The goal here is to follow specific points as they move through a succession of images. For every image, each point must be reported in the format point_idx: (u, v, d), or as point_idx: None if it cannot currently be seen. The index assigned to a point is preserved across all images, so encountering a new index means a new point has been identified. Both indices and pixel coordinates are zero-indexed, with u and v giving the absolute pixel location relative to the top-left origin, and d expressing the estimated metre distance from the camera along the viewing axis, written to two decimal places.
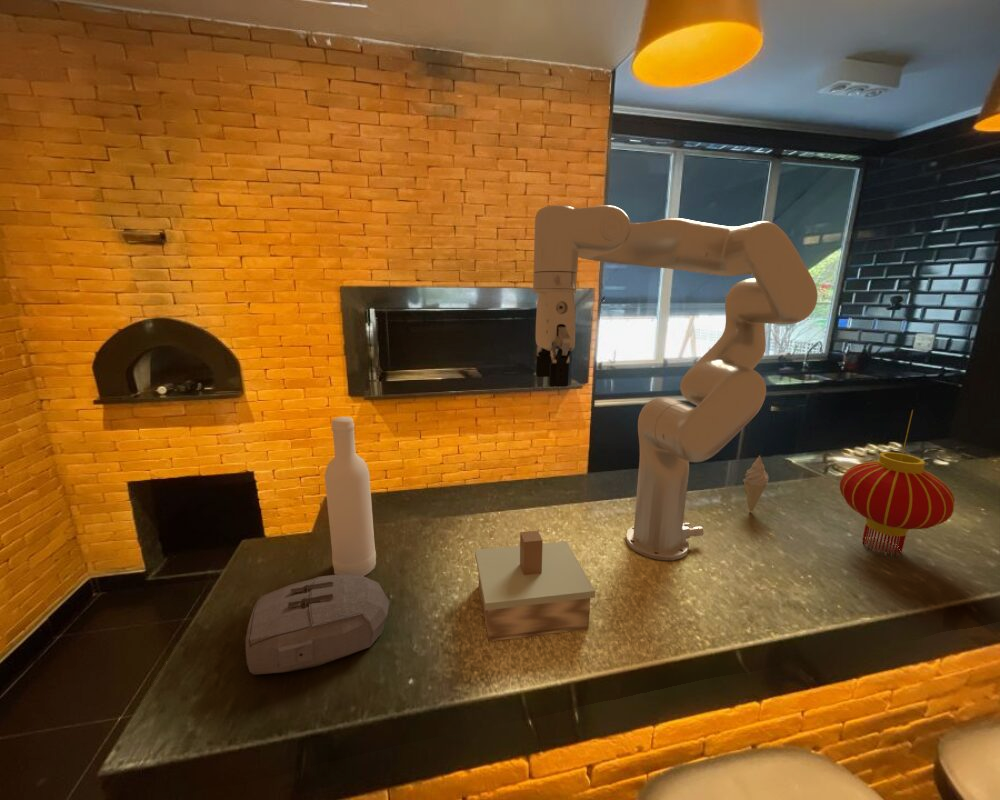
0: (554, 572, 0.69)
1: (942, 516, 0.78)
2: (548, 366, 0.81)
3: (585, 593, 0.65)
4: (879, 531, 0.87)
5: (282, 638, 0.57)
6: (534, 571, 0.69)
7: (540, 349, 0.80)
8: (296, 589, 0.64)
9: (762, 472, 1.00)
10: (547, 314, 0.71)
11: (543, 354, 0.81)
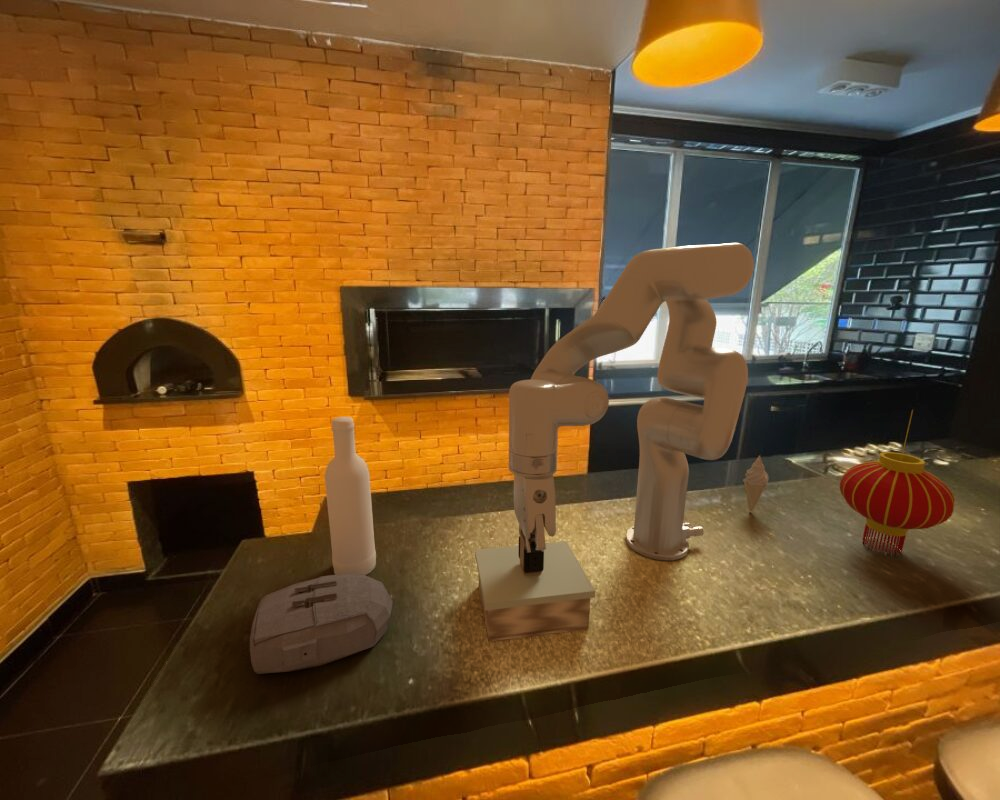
0: (554, 572, 0.69)
1: (942, 516, 0.78)
2: None
3: (585, 593, 0.65)
4: (879, 531, 0.87)
5: (287, 638, 0.58)
6: None
7: None
8: (300, 588, 0.64)
9: (762, 472, 1.00)
10: (524, 502, 0.63)
11: None
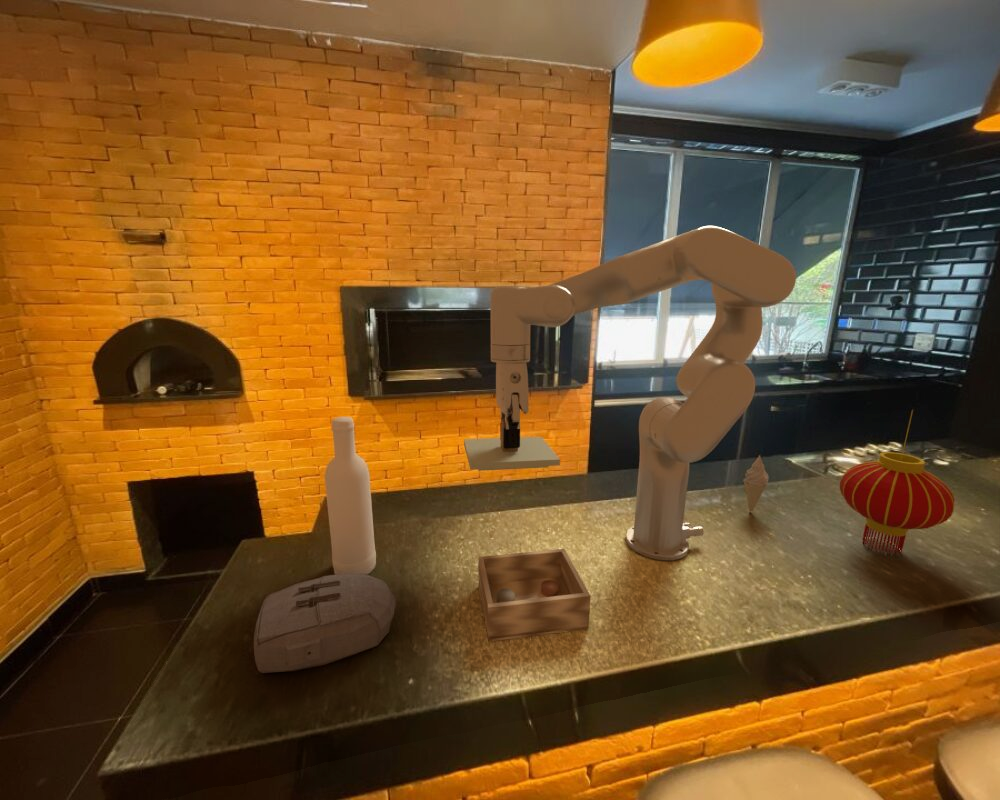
0: (528, 450, 0.84)
1: (942, 516, 0.78)
2: None
3: (552, 461, 0.80)
4: (879, 531, 0.87)
5: (291, 637, 0.58)
6: (511, 448, 0.84)
7: (502, 413, 0.85)
8: (303, 588, 0.65)
9: (762, 472, 1.00)
10: (502, 383, 0.78)
11: None
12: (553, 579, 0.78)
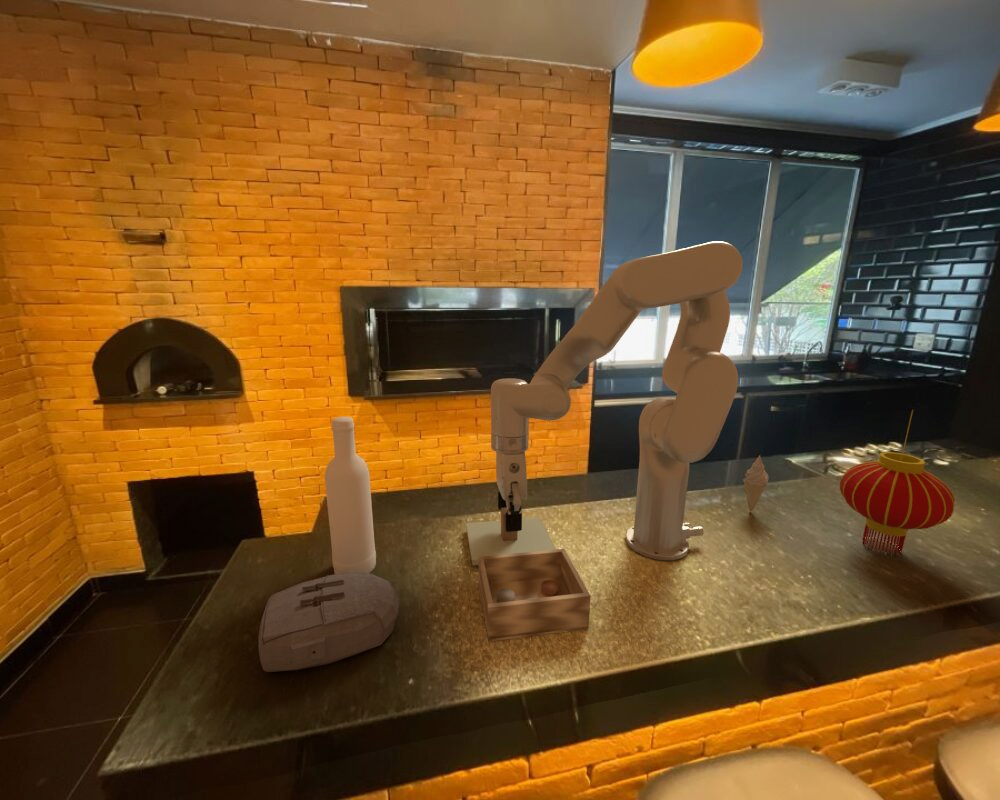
0: (527, 539, 0.89)
1: (942, 516, 0.78)
2: None
3: None
4: (879, 531, 0.87)
5: (295, 636, 0.58)
6: (511, 538, 0.88)
7: None
8: (307, 587, 0.65)
9: (762, 472, 1.00)
10: (502, 472, 0.82)
11: None
12: (553, 579, 0.78)
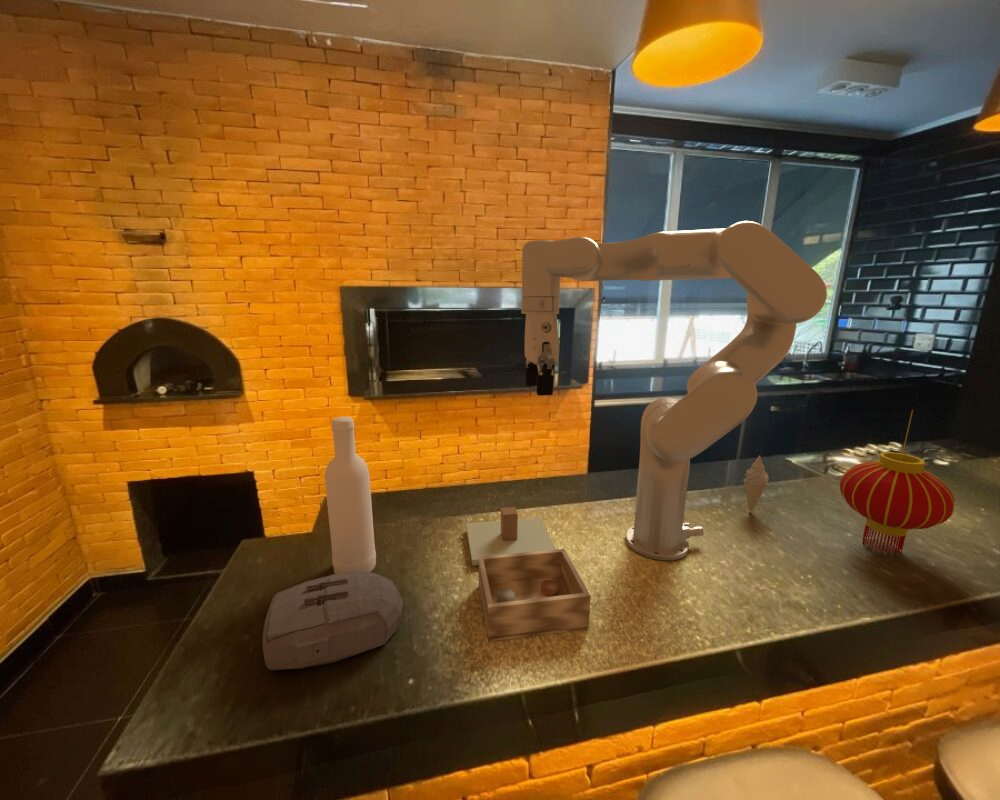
0: (527, 539, 0.89)
1: (942, 516, 0.78)
2: (536, 376, 0.93)
3: None
4: (879, 531, 0.87)
5: (299, 635, 0.58)
6: (511, 538, 0.88)
7: (529, 362, 0.91)
8: (311, 586, 0.65)
9: (762, 472, 1.00)
10: (534, 333, 0.82)
11: (531, 366, 0.92)
12: (553, 579, 0.78)
